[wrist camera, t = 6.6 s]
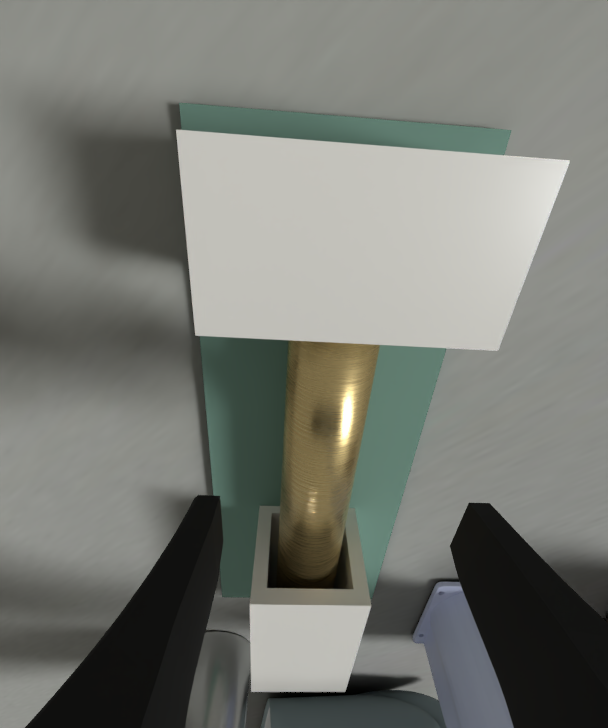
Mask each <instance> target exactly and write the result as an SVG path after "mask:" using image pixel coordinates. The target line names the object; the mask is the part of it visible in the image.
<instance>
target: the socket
mask: <svg viewBox="0 0 608 728" xmlns="http://www.w3.org/2000/svg"><path fill="white" fill-rule="evenodd" d="M176 135H177V146H178V156H179V167H180V178H181V188H182V199H183V210H184V220H185V231H186V242H187V252H188V263H189V274H190V284H191V295H192V306H193V316H194V327H195V336H213V337H233V338H253V339H273V340H293V341H313V342H333V343H353V344H373V345H393V346H413V347H433V348H453V349H473V350H493V351H498V349H499V347H500V344H501V341H502V339H503V336H504V333H505V331H506V328H507V326H508V323H509V320H510V318H511V315H512V312H513V310H514V307H515V305H516V302H517V299H518V297H519V294H520V291H521V289H522V286H523V284H524V281H525V278H526V276H527V273H528V270H529V268H530V265H531V262H532V260H533V257H534V255H535V252H536V249H537V247H538V244H539V241H540V239H541V236H542V234H543V231H544V228H545V226H546V223H547V220H548V218H549V215H550V213H551V210H552V207H553V205H554V202H555V199H556V197H557V194H558V191H559V189H560V186H561V184H562V181H563V178H564V176H565V173H566V170H567V168H568V165H569V163H570V161H569V160H556V159H544V158H531V157H518V156H506V155H493V154H480V153H467V152H455V151H442V150H429V149H417V148H404V147H391V146H379V145H366V144H353V143H341V142H328V141H315V140H303V139H290V138H277V137H265V136H252V135H239V134H227V133H214V132H201V131H189V130H176Z"/></svg>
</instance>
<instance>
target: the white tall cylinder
mask: <svg viewBox="0 0 608 728" xmlns="http://www.w3.org/2000/svg"><path fill="white" fill-rule="evenodd" d="M250 669H251V651H250V643H249V642H248V640H246V639H245V638H243V637H241V636H239V635H236V634H233V633H229V632H222V631H208V632H205V635H204V639H203V643H202V647H201V651H200V655H199V660H198V664H197V668H196V672H195V676H194V681H193V686H192V690H191V695H190V700H189V706H188V712H187V718H186V724H185V728H245V726H246V715H247V703H248V692H249V680H250Z"/></svg>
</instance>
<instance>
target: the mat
mask: <svg viewBox="0 0 608 728" xmlns="http://www.w3.org/2000/svg"><path fill="white" fill-rule="evenodd" d="M179 107H180V118H181V129H182V130H189V131H201V132H214V133H227V134H239V135H252V136H265V137H277V138H290V139H303V140H315V141H328V142H341V143H353V144H366V145H379V146H391V147H404V148H417V149H429V150H442V151H455V152H467V153H480V154H493V155H504V154H505V150H506V147H507V144H508V140H509V137H510V134H511V130H503V129H491V128H479V127H467V126H455V125H443V124H431V123H418V122H406V121H394V120H382V119H370V118H358V117H346V116H334V115H322V114H310V113H297V112H285V111H273V110H261V109H249V108H237V107H225V106H213V105H201V104H189V103H179ZM200 347H201V358H202V370H203V381H204V393H205V404H206V416H207V427H208V438H209V450H210V461H211V473H212V484H213V496H220V501H221V514H222V528H223V548H222V555H221V562H220V576H221V587H222V597H250V596H251V586H252V577H253V567H254V557H255V547H256V537H257V527H258V517H259V508H260V506H280V498H281V478H282V457H283V437H284V417H285V397H286V377H287V356H288V340H273V339H253V338H233V337H213V336H200ZM445 352H446V348H433V347H413V346H393V345H380V349H379V354H378V359H377V364H376V370H375V375H374V380H373V385H372V390H371V395H370V401H369V406H368V411H367V416H366V421H365V427H364V432H363V437H362V442H361V447H360V452H359V458H358V463H357V468H356V473H355V478H354V483H353V489H352V494H351V499H350V504H349V508H355V512H356V518H357V524H358V530H359V536H360V542H361V547H362V553H363V559H364V565H365V571H366V577H367V583H368V589H369V595H370V599H372V597H373V593H374V590H375V586H376V583H377V580H378V576H379V573H380V570H381V566H382V563H383V560H384V556H385V553H386V550H387V546H388V543H389V539H390V536H391V533H392V529H393V526H394V523H395V519H396V516H397V513H398V509H399V506H400V503H401V499H402V496H403V493H404V489H405V486H406V482H407V479H408V476H409V472H410V469H411V466H412V462H413V459H414V456H415V452H416V449H417V446H418V442H419V439H420V435H421V432H422V429H423V425H424V422H425V419H426V415H427V412H428V409H429V405H430V402H431V399H432V395H433V392H434V389H435V385H436V382H437V378H438V375H439V372H440V368H441V365H442V362H443V358H444V355H445Z"/></svg>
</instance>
